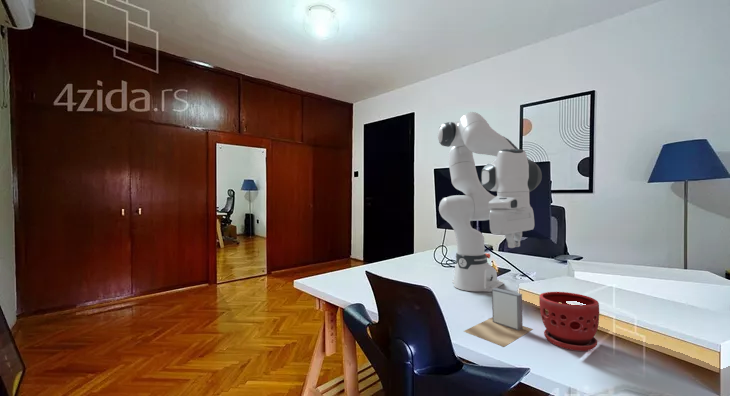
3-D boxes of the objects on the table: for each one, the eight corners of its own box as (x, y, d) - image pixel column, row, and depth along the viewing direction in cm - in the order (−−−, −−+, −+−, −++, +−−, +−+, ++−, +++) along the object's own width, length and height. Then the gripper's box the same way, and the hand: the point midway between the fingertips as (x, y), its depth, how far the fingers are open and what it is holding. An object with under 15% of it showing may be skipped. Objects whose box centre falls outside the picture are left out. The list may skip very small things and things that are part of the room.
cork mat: (493, 318, 98) (493, 316, 98) (533, 331, 89) (533, 329, 89) (463, 333, 88) (463, 331, 88) (503, 349, 79) (503, 346, 79)
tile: (496, 320, 95) (495, 287, 95) (522, 328, 89) (521, 294, 89) (492, 322, 94) (491, 289, 94) (518, 330, 88) (518, 295, 88)
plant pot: (610, 346, 79) (609, 299, 79) (581, 361, 73) (580, 310, 72) (558, 328, 90) (557, 286, 90) (529, 338, 84) (528, 294, 84)
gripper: (519, 200, 103) (520, 242, 103) (485, 202, 91) (486, 250, 91) (539, 200, 98) (540, 244, 98) (505, 202, 86) (507, 252, 86)
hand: (514, 247), depth 94 cm, fingers closed
